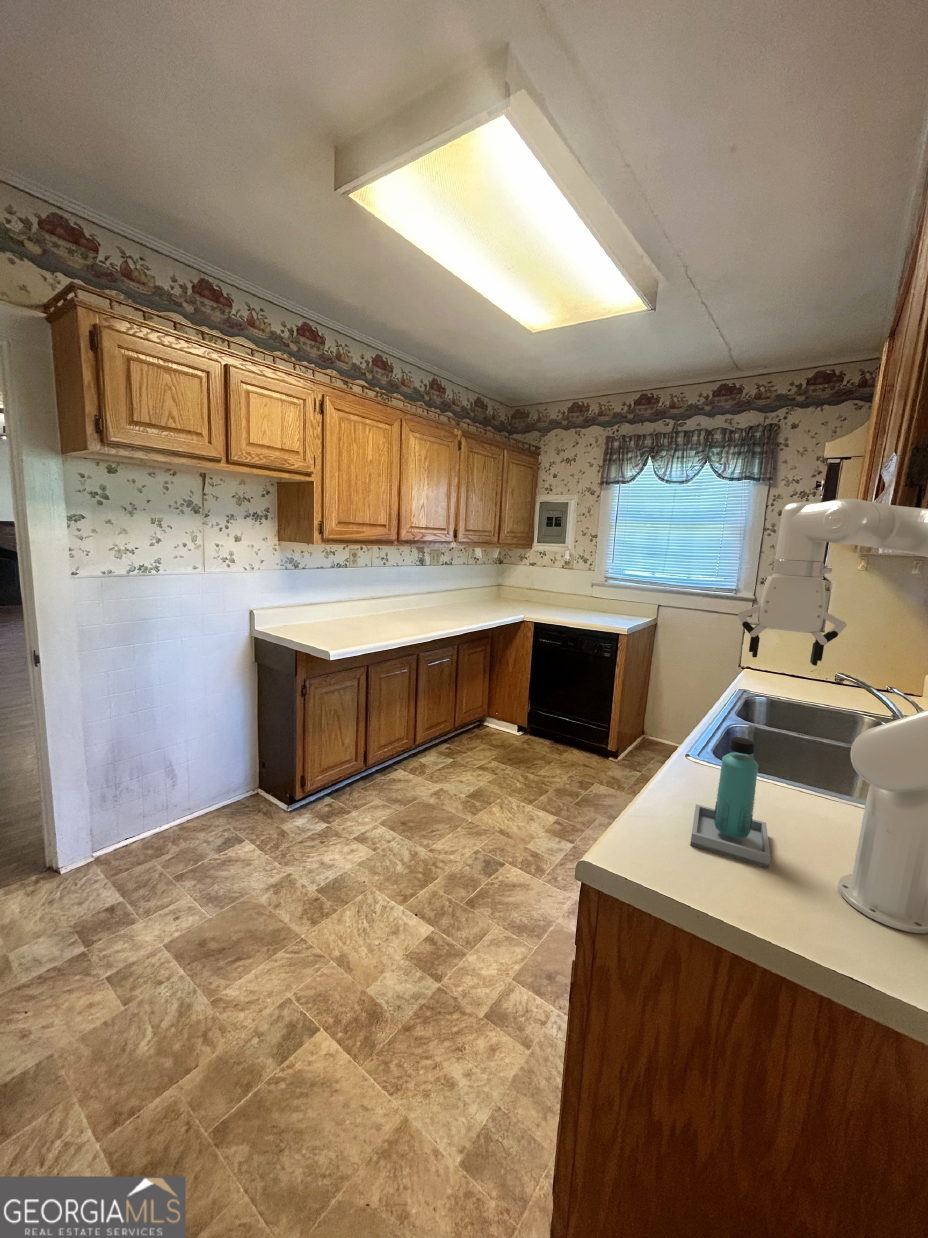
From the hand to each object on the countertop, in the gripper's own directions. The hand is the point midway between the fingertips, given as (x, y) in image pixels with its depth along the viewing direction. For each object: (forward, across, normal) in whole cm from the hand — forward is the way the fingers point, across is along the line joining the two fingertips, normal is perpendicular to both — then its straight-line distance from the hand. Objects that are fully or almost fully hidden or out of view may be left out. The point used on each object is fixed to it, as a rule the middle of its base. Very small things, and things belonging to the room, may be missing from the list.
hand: (783, 660), depth 95 cm
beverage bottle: (+36, +5, +5) cm, 36 cm away
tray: (+36, +5, +5) cm, 37 cm away
